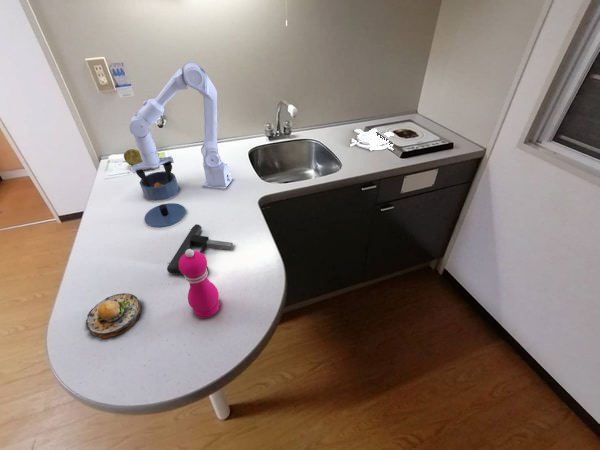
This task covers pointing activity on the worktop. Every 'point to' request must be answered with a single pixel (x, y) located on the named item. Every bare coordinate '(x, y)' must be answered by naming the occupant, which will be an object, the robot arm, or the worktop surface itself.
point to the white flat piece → (371, 140)
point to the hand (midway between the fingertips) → (159, 183)
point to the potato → (133, 157)
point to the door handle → (195, 241)
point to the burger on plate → (113, 315)
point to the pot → (161, 191)
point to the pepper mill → (199, 284)
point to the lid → (165, 215)
